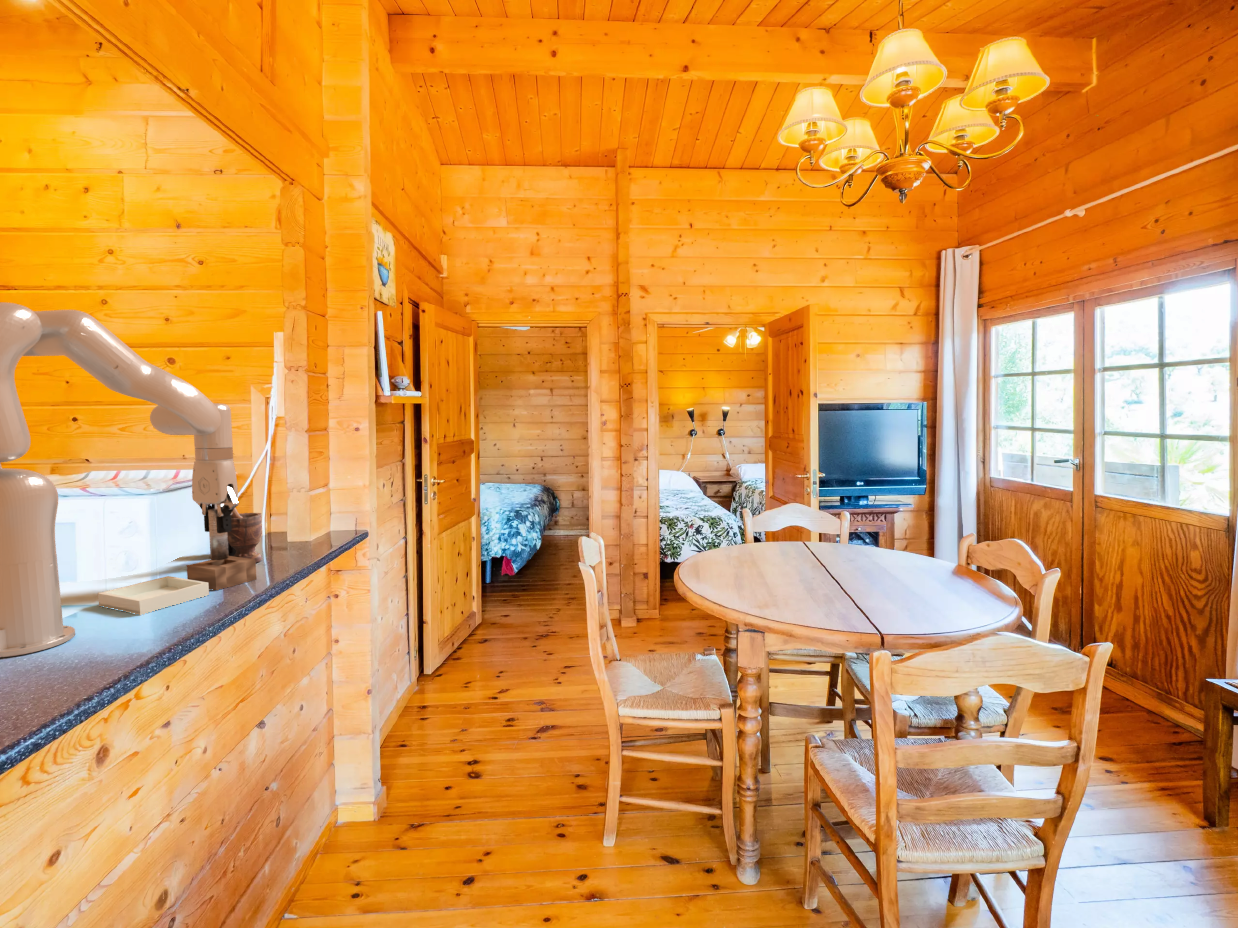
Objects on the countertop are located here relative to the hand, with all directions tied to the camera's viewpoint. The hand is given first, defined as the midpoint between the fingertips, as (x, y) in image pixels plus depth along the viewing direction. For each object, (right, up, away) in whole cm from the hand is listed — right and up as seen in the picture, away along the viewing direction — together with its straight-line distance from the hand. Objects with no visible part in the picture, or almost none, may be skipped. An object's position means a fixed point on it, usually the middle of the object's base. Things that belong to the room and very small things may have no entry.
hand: (218, 530), depth 144 cm
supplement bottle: (-16, -10, +28) cm, 34 cm away
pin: (0, -7, +1) cm, 7 cm away
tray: (-5, -14, -12) cm, 20 cm away
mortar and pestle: (-6, -11, +19) cm, 23 cm away
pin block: (0, -13, +2) cm, 13 cm away
